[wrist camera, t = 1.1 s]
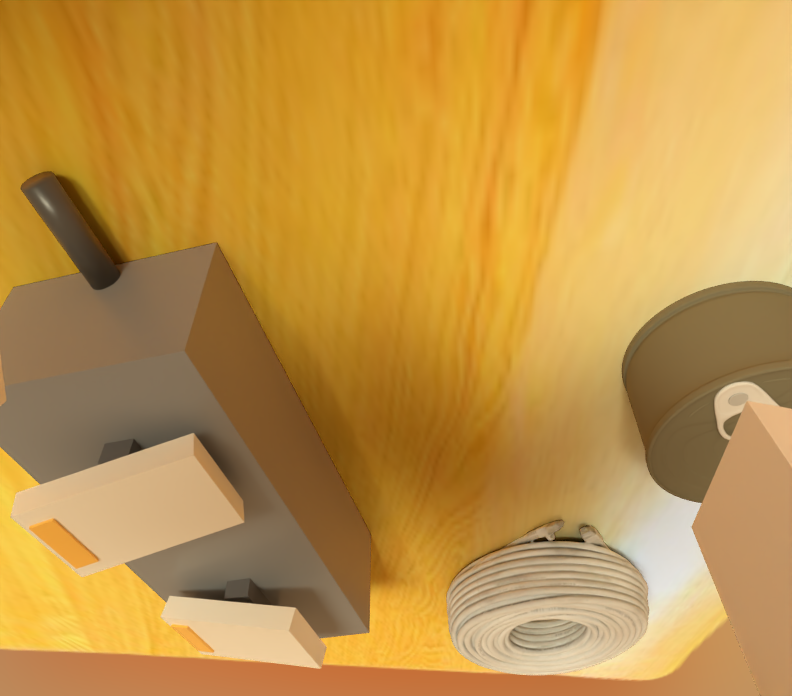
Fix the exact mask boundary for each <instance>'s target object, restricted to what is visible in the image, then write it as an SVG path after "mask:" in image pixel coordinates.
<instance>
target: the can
mask: <svg viewBox="0 0 792 696" xmlns="http://www.w3.org/2000/svg"><path fill="white" fill-rule="evenodd" d="M622 378H623V382H624V386H625V388H626V391H627V393H628V396H629V400H630V403H631V406H632V409H633V412H634V416H635V419H636V422H637V425H638V428H639V431H640V434H641V438H642V441H643V444H644V447H645V451H646V452H645V453H646V463H647V467H648V470H649V472H650V474H651V476H652V478H653V479H654V481H655V482H656V483H657V484H658V485H659V486H660V487H661V488H663V489H664V490H666V491H667V492H669V493H671V494H673V495H675V496H677V497H680V498H682V499H686V500H689V501H694V502H699V503H702V502H703V500H704V498H705V495H706V493H707V491H708V488H709V486H710V484H711V482H712V479H713V477H714V475H715V472H716V470H717V468H718V466H719V463H720V461H721V459H722V456H723V454H724V452H725V450H726V447H727V445H728V443H729V440H730V438H731V436H732V434H733V431H734V429H735V427H736V424H737V422H738V420H739V418H740V415H741V413H742V411H743V408H744V406H745V404H746V402H747V401H751V402H757V403H762V404H768V405H774V406H779V407H785V408H790V409H792V288H791V287H789V286H785V285H782V284H778V283H772V282H764V281H744V282H734V283H728V284H723V285H718V286H714V287H711V288H707V289H704V290H701V291H698V292H696V293H693V294H691V295H689V296H686V297H684V298H682V299H680V300H678V301H676V302H675V303H673V304H671V305H669V306H668V307H666V308H665V309H663V310H662V311H660V312H659V313H658V314H656V315H655V316H654V317H653V318H651V319H650V320H649V321H648V322H647V323H646V324H645V325H644V326H643V327H642V328H641V329H640V330H639V331H638V333H637V334H636V335H635V336H634V338H633V339H632V341H631V342H630V344H629V346H628V348H627V350H626V352H625V355H624V358H623V363H622Z"/></svg>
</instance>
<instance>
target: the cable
mask: <svg viewBox="0 0 792 696" xmlns="http://www.w3.org/2000/svg"><path fill="white" fill-rule="evenodd" d="M563 525H564V522H563V520H560V521H555V522H552V523H548V524H545V525H543V526H540V527H539V528H537V529H535V530H532V531H530V532H528V533H527V534H526V535H524V536H522V537H520V538H518V539H517V540H515V541H513V542H512V543H510V544H508V545H507V546H505V547H503V548H502V549H500V550H498V551H495V552H493V553H490V554H488V555H485V556H484V557H482V558H480V559H478V560H476V561H474V562H473V563H471V564H470V565H468V566H467V567H465V568H464V569H463V570H462V571H461V572H460V573H459V574H458V575H457V576H456V577H455V578H454V580H453V581H452V583H451V585H450V588H449V590H448V592H447V614H448V623H449V632H450V635H451V639H452V642H453V645H454V646H455V648H456V649H457V651H458V652H459V653H460V654H461V655H462V656H464V657H465V658H466V659H468V660H470V661H471V662H473V663H475V664H477V665H480V666H482V667H485V668H488V669H492V670H496V671H500V672H504V673H511V674H519V675H551V674H561V673H568V672H572V671H577V670H581V669H585V668H588V667H591V666H594V665H597V664H600V663H602V662H604V661H607V660H609V659H612V658H614V657H616V656H618V655H619V654H621V653H623V652H625V651H626V650H627V649H629V648H630V647H632V646H633V645H635V644H636V643H637V642H638V641H639V640H640V639H641V638H642V636H643V635H644V634H645V632H646V630H647V625H648V615H649V607H648V600H647V595H648V586H647V583H646V581H645V580H644V579H643V577H642V575H641V574H640V572H639V571H638V570H637V569H636V568H635V567H634V566H633V565H632V564H631V563H630V562H629V561H628V560H627V559H625V558H624V557H622V556H621V555H619V554H617V553H615V552H613V551H611V550H610V549H609V548H608V547H607V546H606V544H605V543H604V542H603V538H602V536H601V535H600V534H599V533H598V531H597V530H596V529H595V528H594V527H592V526H591V525H588V526H585V527H582V528H581V529H580V535H581V538H583V540H584V541H585V542H583V543H582V542H570V541H551V540H554V539H555V535H554V532H556V531H558V530H560V529H561V528H562V527H563ZM542 537H546V538H547V539H548V540H549V541H545V542H533V541H534V540H536V539H538V538H542ZM529 541H531V543H528V542H529Z"/></svg>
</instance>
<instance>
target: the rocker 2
mask: <svg viewBox="0 0 792 696" xmlns="http://www.w3.org/2000/svg"><path fill="white" fill-rule="evenodd" d="M161 618H162V619H163V620H164V621H165V622H167V623H168V624H169V625H170V626H171V627H172V628H173V629H174V630H175V631H177V632H178V633H179V634H180V635H181V636H182V637H183V638H184V639H185V640H187V641H188V642H189V643H190V644H191V645H192V646H193V647H194V648H196V649H197V650H198V651H199V652H200V653H201V654H206V655H214V656H222V657H231V658H239V659H247V660H255V661H263V662H271V663H279V664H287V665H296V666H303V667H312V668H320V669H321V667H322V663H323V659H324V655H325V651H326V646H325V644H324V643H323V642H322V641H321V639H320V638H319V637H318V635H317V634H316V633H315V632H314V630H313V629H312V628H311V627H310V625H309V624H308V623H307V621H306V620H305V619H304V618H303V616H302V615H301V614H300V613H299V611H298V610H297V609H296V608H293V607H283V606H272V605H262V604H251V603H241V602H230V601H219V600H209V599H198V598H188V597H177V596H169V598H168V601H167V603H166V605H165V608H164V610H163V612H162V615H161Z"/></svg>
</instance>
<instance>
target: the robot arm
mask: <svg viewBox="0 0 792 696" xmlns="http://www.w3.org/2000/svg"><path fill="white" fill-rule="evenodd" d="M5 402H6V393H5V386H4V378H3V371H2V363H1V356H0V406H1V405H2V404H3V403H5ZM692 529H693V532H694V534H695V537H696V539H697V542H698V544H699V547H700V549H701V552H702V554H703V557H704V559H705V561H706V564H707V566H708V569H709V571H710V574H711V576H712V579H713V581H714V584H715V586H716V589H717V591H718V594H719V596H720V598H721V601H722V603H723V606H724V608H725V611H726V613H727V616H728V618H729V621H730V623H731V625H732V628H733V631H734V633H735V636H736V638H737V640H738V643H739V645H740V648H741V650H742V653H743V655H744V658H745V660H746V663H747V665H748V668H749V670H750V672H751V675H752V677H753V680H754V682H755V685H756V687H757V690H758V692H759V695H760V696H792V409H790V408H785V407H779V406H774V405H768V404H762V403H757V402H751V401H747V402H746V404H745V406H744V408H743V411H742V413H741V415H740V418H739V420H738V422H737V424H736V427H735V429H734V431H733V434H732V436H731V438H730V440H729V443H728V445H727V447H726V450H725V452H724V454H723V456H722V459H721V461H720V463H719V466H718V468H717V470H716V472H715V475H714V477H713V479H712V482H711V484H710V486H709V488H708V491H707V493H706V495H705V498H704V500H703V502H702V504H701V507H700V509H699V511H698V514H697V516H696V518H695V520H694V523H693V525H692Z"/></svg>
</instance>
